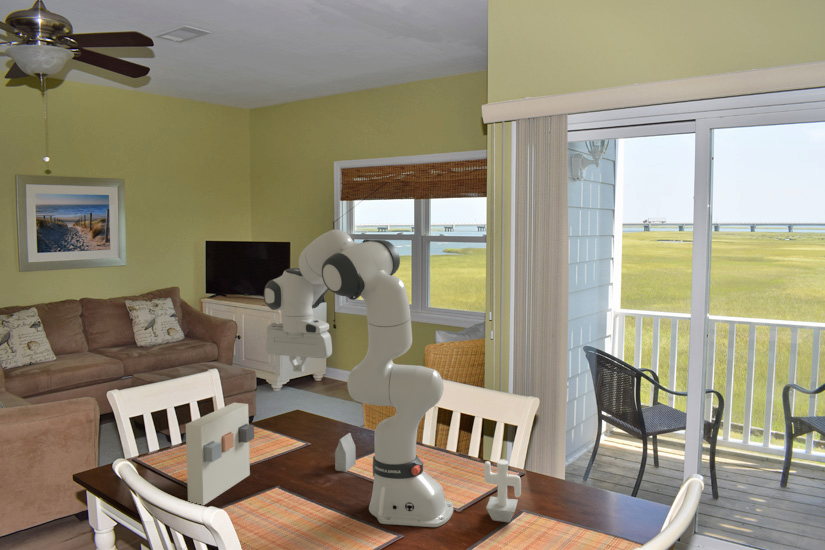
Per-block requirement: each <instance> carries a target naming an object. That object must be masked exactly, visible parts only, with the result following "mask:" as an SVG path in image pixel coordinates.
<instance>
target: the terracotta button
mask: <svg viewBox="0 0 825 550" xmlns="http://www.w3.org/2000/svg"><path fill="white" fill-rule="evenodd" d="M232 447H234V438H233V433H227V434H225V435H224V436H222V451H227V450H229V449H230V448H232Z"/></svg>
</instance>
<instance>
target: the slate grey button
mask: <svg viewBox="0 0 825 550" xmlns="http://www.w3.org/2000/svg"><path fill="white" fill-rule="evenodd" d="M203 451H204V461H207V462H213V461H215V460H217V459H219V458H221V443H218V442H210V443H208V444H206V445H204V446H203Z"/></svg>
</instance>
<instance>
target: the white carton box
mask: <svg viewBox="0 0 825 550" xmlns="http://www.w3.org/2000/svg"><path fill="white" fill-rule="evenodd" d="M356 450H357V449H356V444H355V442H354V439H353V437H352V434H351V432H348V433H347V434H346V435H344V436H342V437H341V438H339V440H338V444H337V447H336V449H335V452H334V459H335V461H334V465H335V466H334V469H335V471H336V472H342V473H343V472H344V473H346V472H348V471H349V470H351V469H352V468H353V467H354V466H355V465H356V459H357V457H356V455H357V454H356V452H357V451H356Z"/></svg>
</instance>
